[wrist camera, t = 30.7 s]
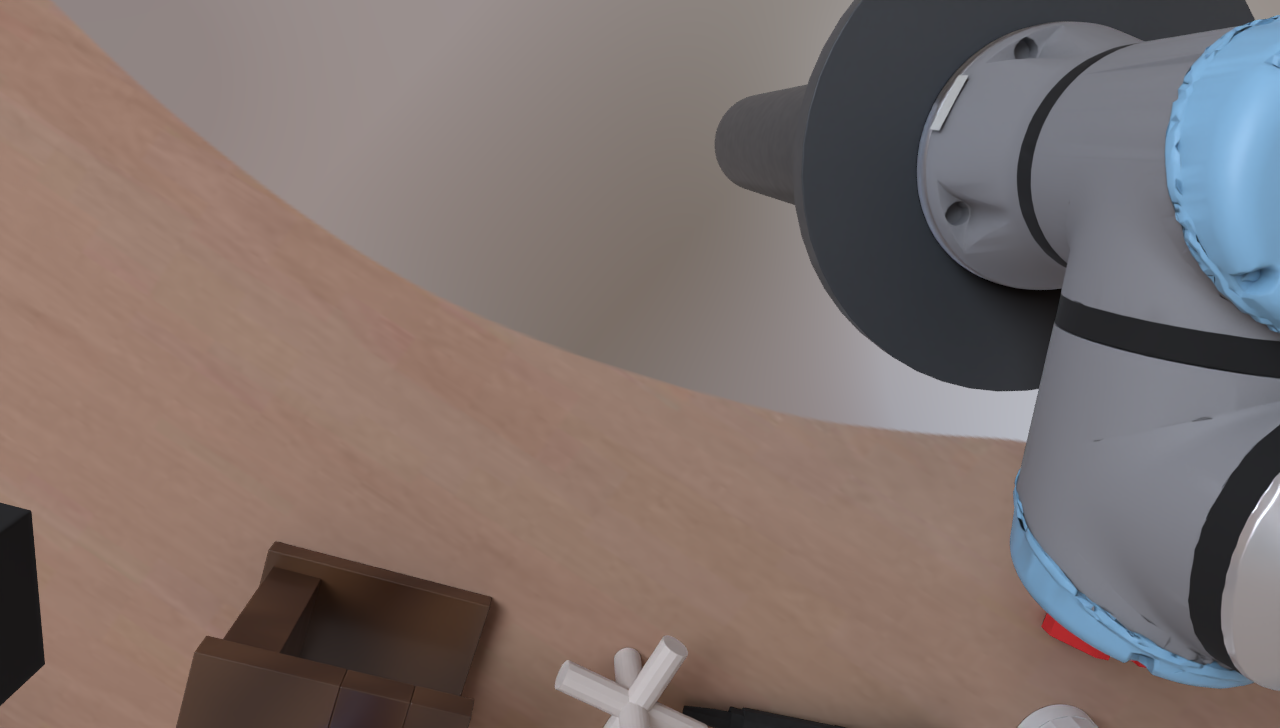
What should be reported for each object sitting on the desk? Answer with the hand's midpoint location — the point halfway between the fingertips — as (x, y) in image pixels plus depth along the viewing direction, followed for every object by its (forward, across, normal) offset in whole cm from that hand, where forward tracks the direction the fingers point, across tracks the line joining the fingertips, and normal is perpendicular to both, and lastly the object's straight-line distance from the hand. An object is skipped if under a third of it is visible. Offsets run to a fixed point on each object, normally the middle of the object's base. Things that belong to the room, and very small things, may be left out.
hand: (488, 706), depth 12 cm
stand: (+34, -13, -33) cm, 49 cm away
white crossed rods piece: (+37, +4, -32) cm, 49 cm away
